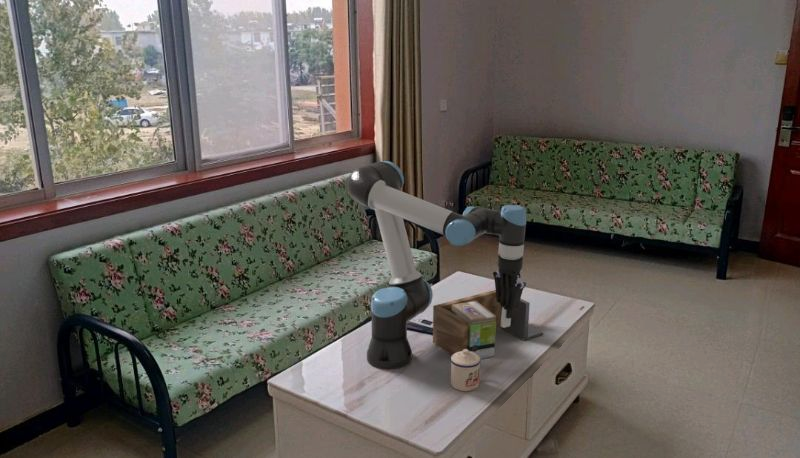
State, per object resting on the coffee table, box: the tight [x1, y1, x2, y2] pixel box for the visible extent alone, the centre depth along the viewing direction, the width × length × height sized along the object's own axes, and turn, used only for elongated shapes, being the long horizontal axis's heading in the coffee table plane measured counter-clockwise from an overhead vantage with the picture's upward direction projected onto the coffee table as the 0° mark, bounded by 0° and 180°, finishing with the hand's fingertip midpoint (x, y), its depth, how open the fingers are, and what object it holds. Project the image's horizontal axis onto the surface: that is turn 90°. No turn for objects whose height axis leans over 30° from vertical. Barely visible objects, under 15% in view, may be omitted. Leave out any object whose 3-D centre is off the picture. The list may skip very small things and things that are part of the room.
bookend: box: [501, 298, 544, 341], centre depth 229 cm, size 9×12×14 cm
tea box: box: [452, 301, 497, 360], centre depth 216 cm, size 15×10×15 cm, turn 21°
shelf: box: [432, 289, 501, 356], centre depth 223 cm, size 36×17×14 cm, turn 122°
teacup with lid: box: [450, 349, 482, 392], centre depth 195 cm, size 12×9×12 cm
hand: (505, 325), depth 201 cm, fingers closed
